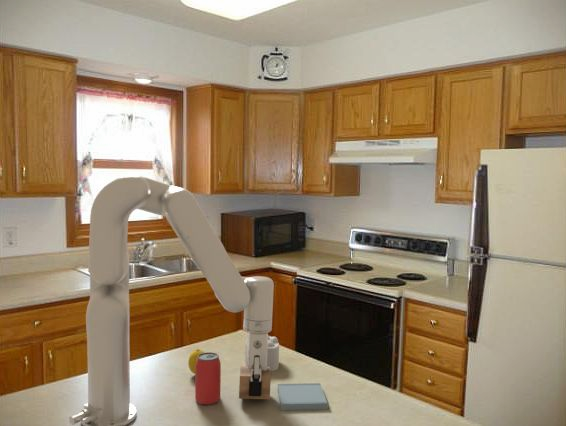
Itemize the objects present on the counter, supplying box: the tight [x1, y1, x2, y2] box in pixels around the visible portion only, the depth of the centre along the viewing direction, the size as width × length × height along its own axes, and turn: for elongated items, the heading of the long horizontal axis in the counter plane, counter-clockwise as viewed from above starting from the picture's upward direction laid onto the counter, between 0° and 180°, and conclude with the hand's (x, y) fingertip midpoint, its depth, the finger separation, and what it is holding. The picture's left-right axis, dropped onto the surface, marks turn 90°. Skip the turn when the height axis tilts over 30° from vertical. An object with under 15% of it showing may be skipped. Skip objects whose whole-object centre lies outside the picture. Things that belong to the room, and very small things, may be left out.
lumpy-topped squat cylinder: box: [244, 335, 280, 372], centre depth 153 cm, size 10×13×9 cm
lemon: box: [187, 348, 205, 374], centre depth 143 cm, size 6×6×8 cm
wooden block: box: [238, 365, 272, 400], centre depth 128 cm, size 6×8×6 cm
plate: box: [277, 382, 328, 411], centre depth 130 cm, size 12×12×2 cm
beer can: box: [194, 351, 222, 406], centre depth 128 cm, size 7×7×12 cm
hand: (254, 389), depth 129 cm, fingers closed on wooden block, 6 cm apart
